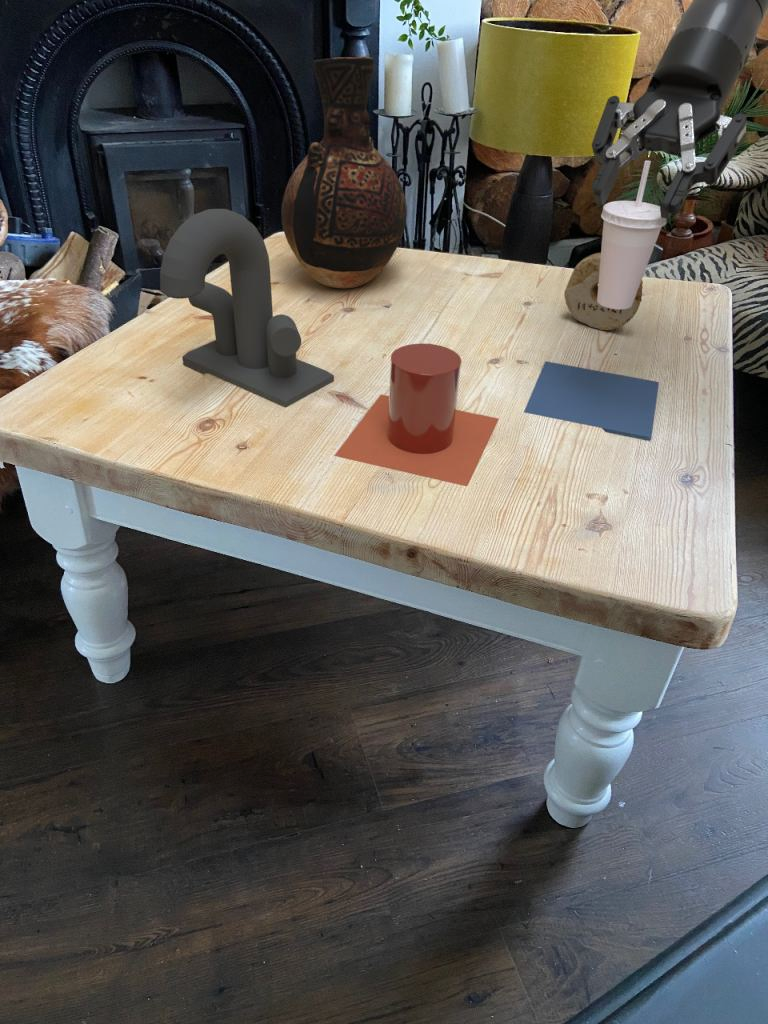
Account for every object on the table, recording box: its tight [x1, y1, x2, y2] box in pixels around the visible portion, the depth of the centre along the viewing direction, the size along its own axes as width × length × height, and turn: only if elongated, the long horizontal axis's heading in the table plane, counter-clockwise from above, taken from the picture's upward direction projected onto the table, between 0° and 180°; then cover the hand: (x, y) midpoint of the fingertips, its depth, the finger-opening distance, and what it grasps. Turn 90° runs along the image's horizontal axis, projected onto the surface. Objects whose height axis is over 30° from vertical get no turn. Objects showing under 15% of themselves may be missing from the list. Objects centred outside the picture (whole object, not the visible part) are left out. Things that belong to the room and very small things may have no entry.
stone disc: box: [564, 252, 644, 331], centre depth 102 cm, size 10×4×10 cm, turn 54°
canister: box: [388, 343, 462, 454], centre depth 76 cm, size 7×7×9 cm
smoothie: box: [597, 160, 668, 309], centre depth 76 cm, size 6×6×14 cm
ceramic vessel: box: [280, 56, 408, 289], centre depth 107 cm, size 21×18×30 cm
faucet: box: [159, 208, 335, 409], centre depth 81 cm, size 18×16×20 cm
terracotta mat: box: [333, 393, 500, 487], centre depth 79 cm, size 14×14×1 cm
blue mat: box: [523, 360, 660, 441], centre depth 88 cm, size 14×14×1 cm
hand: (630, 206), depth 73 cm, fingers closed on smoothie, 6 cm apart
